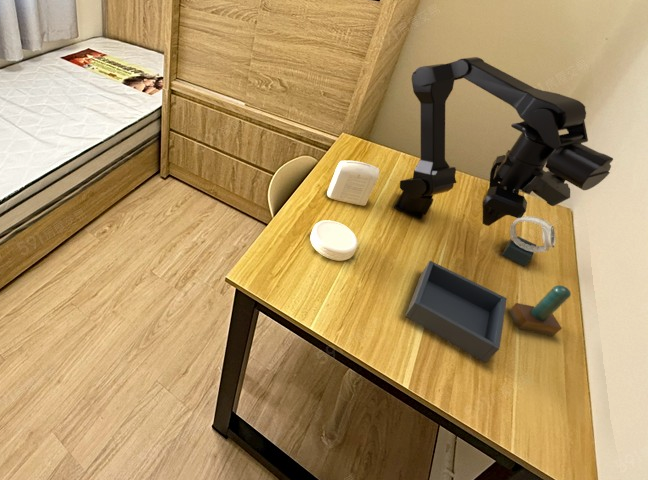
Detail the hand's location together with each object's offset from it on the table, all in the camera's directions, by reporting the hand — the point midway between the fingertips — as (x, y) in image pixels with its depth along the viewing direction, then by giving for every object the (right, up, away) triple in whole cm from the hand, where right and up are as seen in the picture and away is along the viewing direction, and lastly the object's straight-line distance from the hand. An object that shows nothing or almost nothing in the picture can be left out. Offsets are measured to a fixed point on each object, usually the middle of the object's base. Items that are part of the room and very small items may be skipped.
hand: (488, 213), depth 88 cm
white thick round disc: (-31, -9, +8) cm, 33 cm away
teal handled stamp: (+2, -21, -8) cm, 22 cm away
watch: (+13, -11, +7) cm, 18 cm away
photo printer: (-20, 0, +22) cm, 30 cm away
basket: (-13, -20, -6) cm, 25 cm away
